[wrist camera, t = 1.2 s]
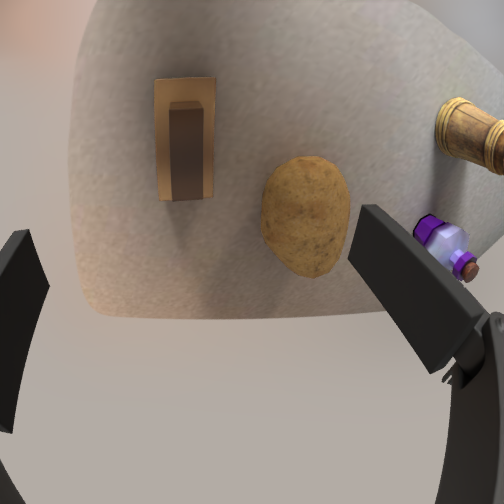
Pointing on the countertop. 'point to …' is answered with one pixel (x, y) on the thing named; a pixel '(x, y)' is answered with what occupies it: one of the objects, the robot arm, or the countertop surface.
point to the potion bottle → (447, 246)
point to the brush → (184, 137)
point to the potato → (306, 215)
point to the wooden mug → (471, 135)
